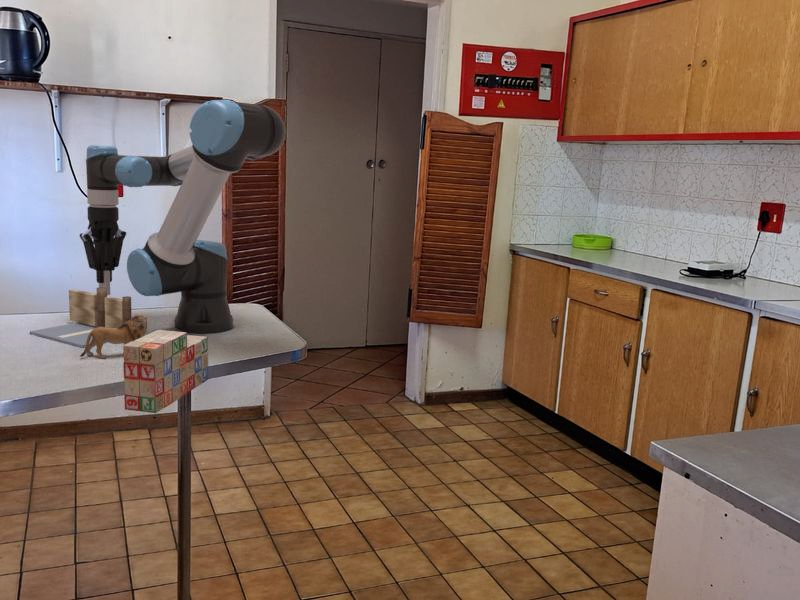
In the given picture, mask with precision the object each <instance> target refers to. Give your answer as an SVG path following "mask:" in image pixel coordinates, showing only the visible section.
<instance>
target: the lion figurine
mask: <svg viewBox="0 0 800 600" xmlns="http://www.w3.org/2000/svg"><path fill="white" fill-rule="evenodd" d="M148 325H149V324H148V319H147V316H145V315H142V314H135V315H133V316H132V317H131V319H130V320H129V321H127V322H125V323H124V324H123V325H121V326H120V327H118V328H105V327H97V328H95V329H93V330H92V331H91V332H90V333H89V335H88V338H87V341H86V346H85V347H84V350H83V352H82V353H81V354H80V355H79V357H84V356H85V355H86V356H93V355H94V353H93V352H91V350H92V349H93V348H94V347H95V346H96V349H95V350H96V351H95V352H96V354H97V355H98V357H99V358H100V359H106V358H107V356H106V355H105V354H103V353H102V348H103V346H104V344H105V343H104V341H107V343H109V344H112V345H121V344H123V345H125V344H127V343H130V342H132V341H135V340H137V339H139V338H141V337H143V336H145V335H146V333H147V330H148V327H149V326H148ZM91 336H93V337H92V341H91V342H90V339H91ZM89 342H90V344H89Z"/></svg>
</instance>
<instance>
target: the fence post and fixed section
mask: <svg viewBox="0 0 800 600" xmlns="http://www.w3.org/2000/svg"><path fill="white" fill-rule="evenodd" d="M96 294H97V321H98V327H105V328H118V327H120V326H121V325H123V324H124V323H125V322H127V321H129V320H130V319H131V317H133V316H132V315H133V314H132V296H129V295H128V296H122V298H118V297H113V296H108V295H107V288H105V287H99V286H98V287H96Z"/></svg>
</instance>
